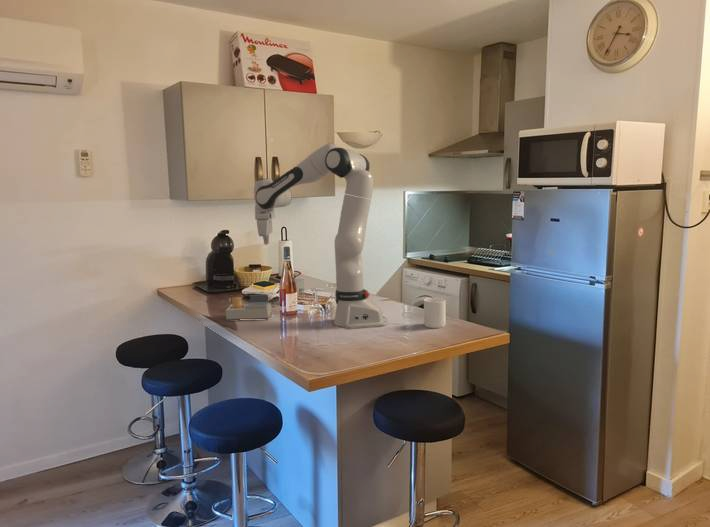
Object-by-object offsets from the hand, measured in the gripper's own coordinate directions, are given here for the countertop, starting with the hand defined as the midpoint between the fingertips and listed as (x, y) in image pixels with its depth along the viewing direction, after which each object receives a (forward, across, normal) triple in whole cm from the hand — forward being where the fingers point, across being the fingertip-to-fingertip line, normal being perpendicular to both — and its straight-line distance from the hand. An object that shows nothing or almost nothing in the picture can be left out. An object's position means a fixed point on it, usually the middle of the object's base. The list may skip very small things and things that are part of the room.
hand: (266, 244), depth 251 cm
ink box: (+31, -12, +10) cm, 35 cm away
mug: (+31, +37, +73) cm, 88 cm away
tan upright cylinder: (+30, +15, -12) cm, 36 cm away
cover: (+26, +15, -3) cm, 30 cm away
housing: (+31, +15, -7) cm, 35 cm away
